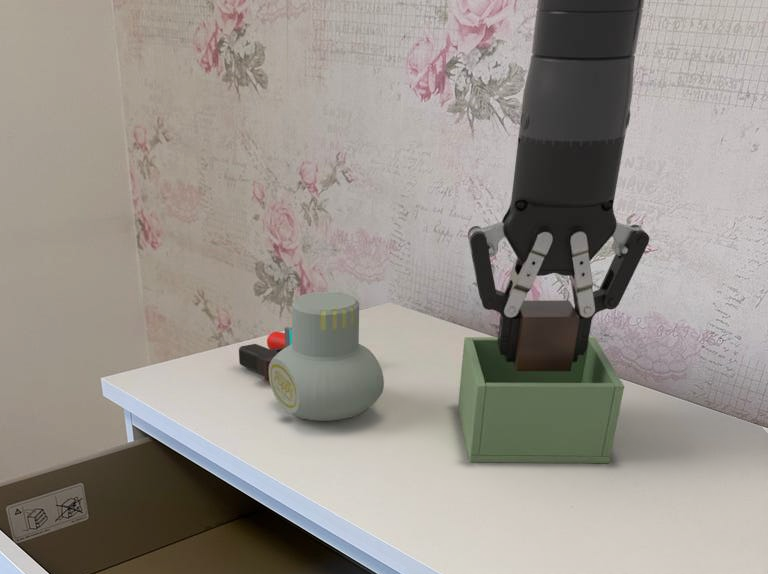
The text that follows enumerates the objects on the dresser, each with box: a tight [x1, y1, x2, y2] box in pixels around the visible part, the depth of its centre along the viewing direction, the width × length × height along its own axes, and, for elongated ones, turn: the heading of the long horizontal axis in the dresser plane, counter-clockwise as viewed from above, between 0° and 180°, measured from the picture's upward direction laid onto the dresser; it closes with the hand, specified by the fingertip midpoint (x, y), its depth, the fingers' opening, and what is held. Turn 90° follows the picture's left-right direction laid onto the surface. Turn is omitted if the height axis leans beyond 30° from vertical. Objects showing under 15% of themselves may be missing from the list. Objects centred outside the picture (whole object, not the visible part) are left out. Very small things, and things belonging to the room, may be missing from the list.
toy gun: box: [238, 326, 292, 383], centre depth 96 cm, size 10×12×5 cm
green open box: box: [457, 336, 625, 464], centre depth 81 cm, size 11×11×7 cm
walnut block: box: [513, 300, 579, 371], centre depth 77 cm, size 4×4×4 cm
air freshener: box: [269, 291, 385, 422], centre depth 85 cm, size 11×8×10 cm
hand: (539, 358), depth 79 cm, fingers closed on walnut block, 4 cm apart
